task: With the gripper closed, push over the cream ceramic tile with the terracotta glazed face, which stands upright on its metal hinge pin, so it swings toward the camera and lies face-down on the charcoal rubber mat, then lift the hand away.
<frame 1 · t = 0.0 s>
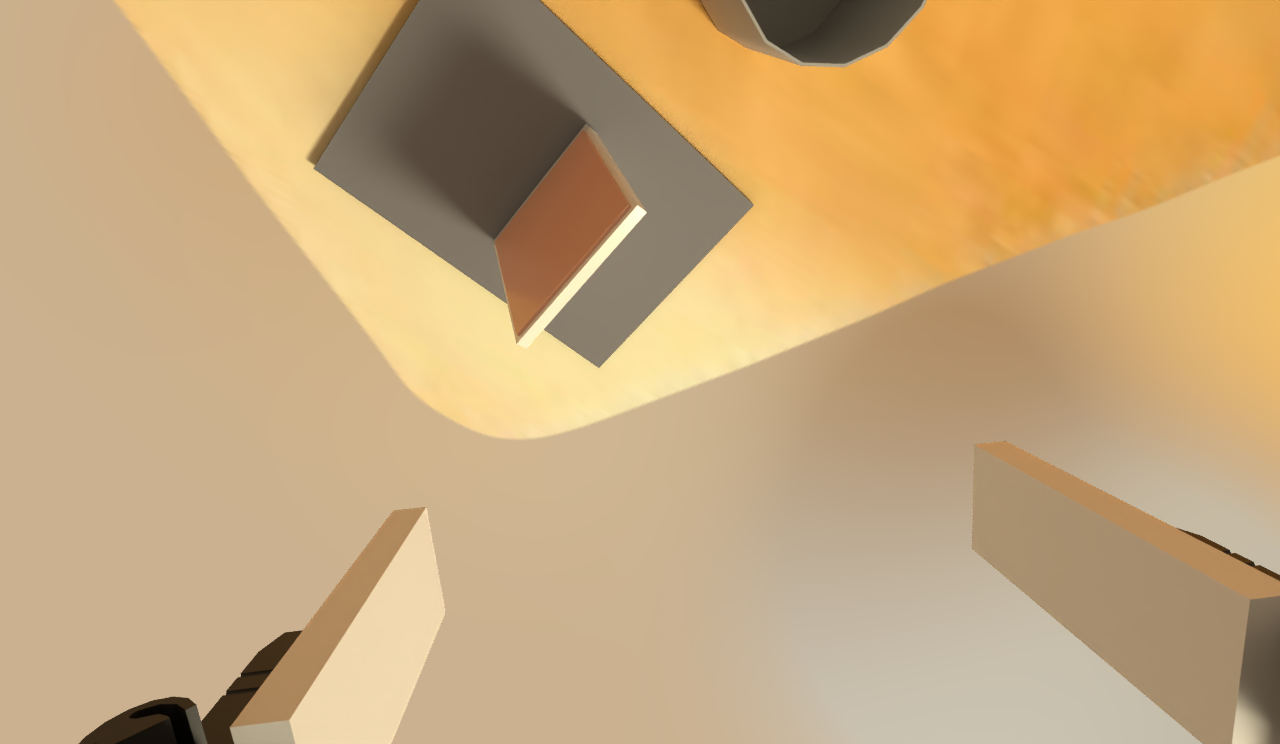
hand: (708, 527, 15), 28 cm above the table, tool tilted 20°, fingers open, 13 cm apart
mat: (543, 185, 38), on the table
tile: (557, 228, 34), point 6 cm above the table, hinge at 75.0°
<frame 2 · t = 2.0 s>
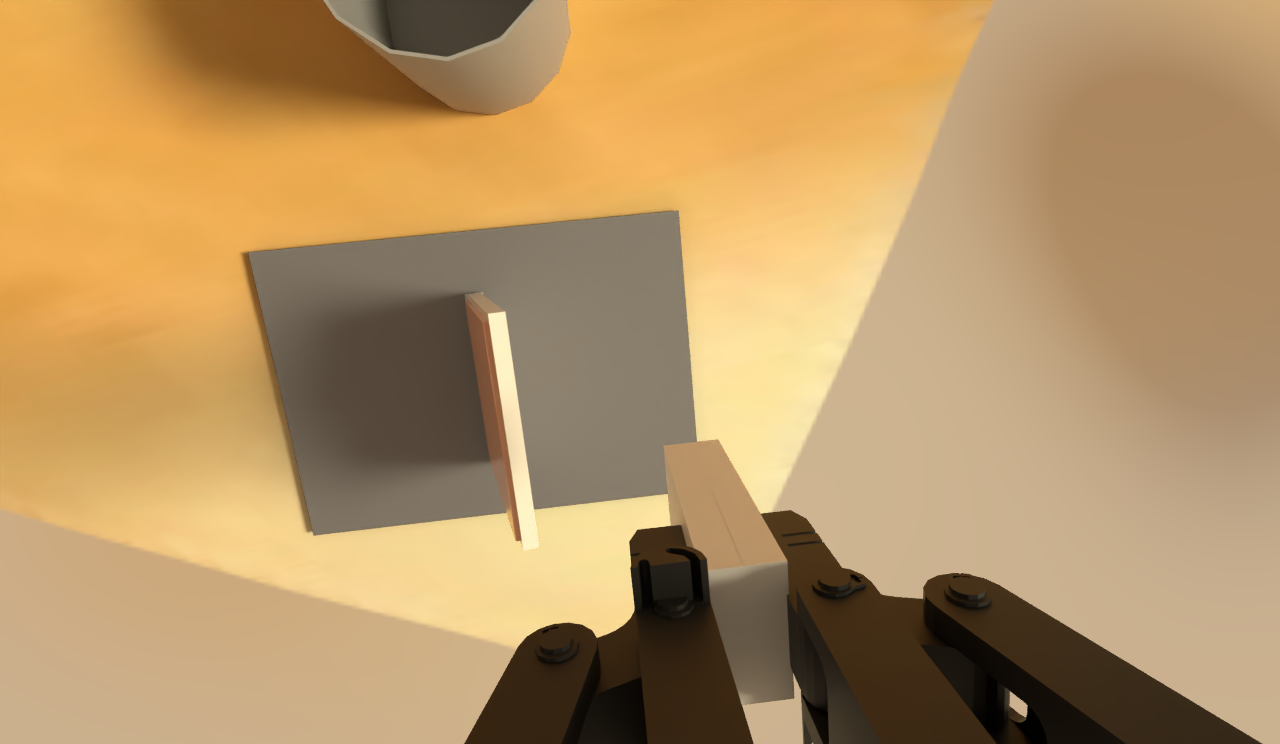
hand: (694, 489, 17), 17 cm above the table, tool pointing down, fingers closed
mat: (490, 376, 33), on the table
tile: (497, 403, 28), point 6 cm above the table, hinge at 75.0°
cup: (480, 20, 30), on the table
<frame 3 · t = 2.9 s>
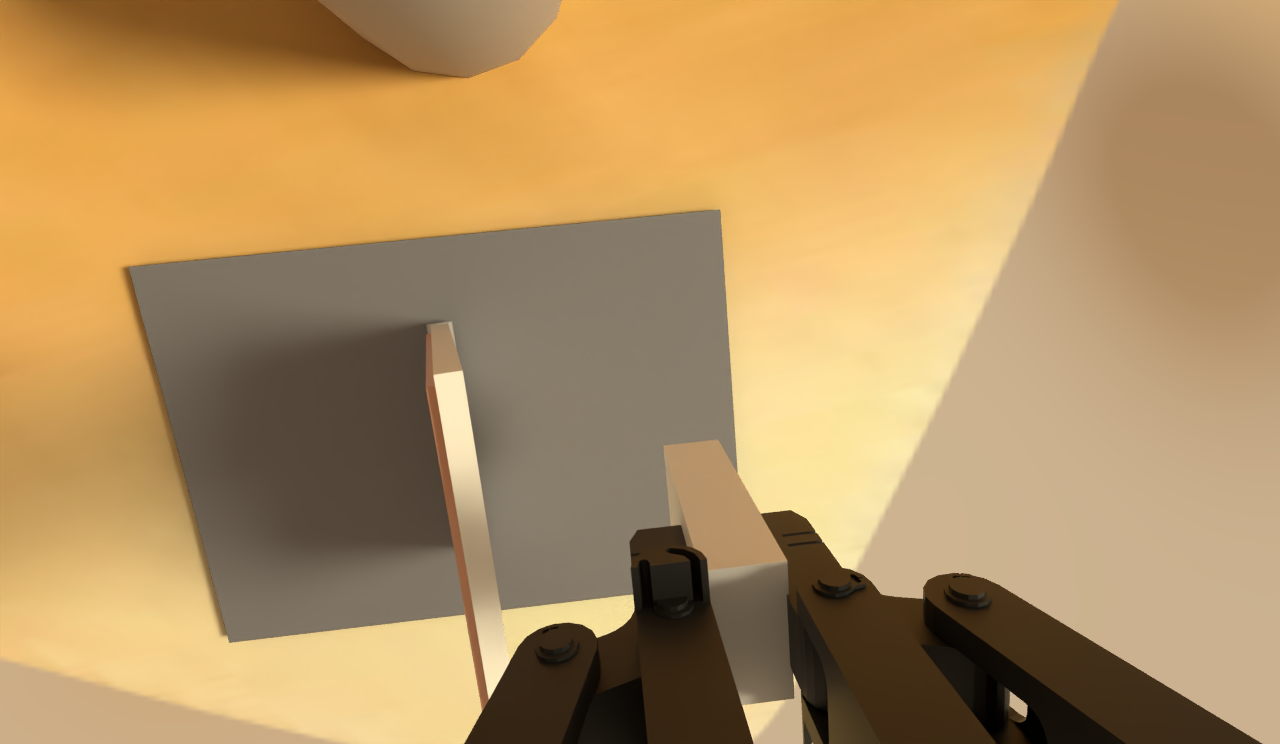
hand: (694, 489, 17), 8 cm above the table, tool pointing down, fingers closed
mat: (465, 433, 25), on the table
tile: (465, 486, 19), point 6 cm above the table, hinge at 75.0°
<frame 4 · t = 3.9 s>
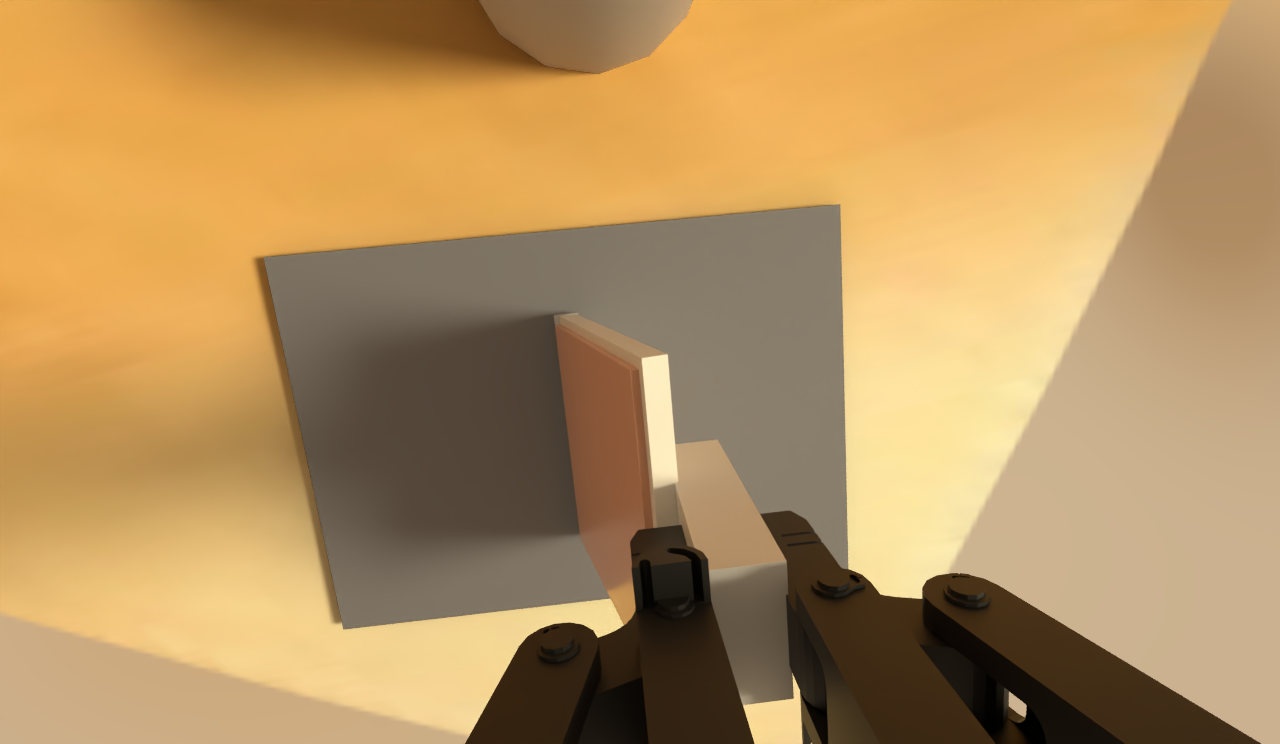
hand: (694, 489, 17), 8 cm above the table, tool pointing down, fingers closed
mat: (580, 423, 25), on the table
tile: (611, 472, 20), point 6 cm above the table, hinge at 75.9°, touching gripper
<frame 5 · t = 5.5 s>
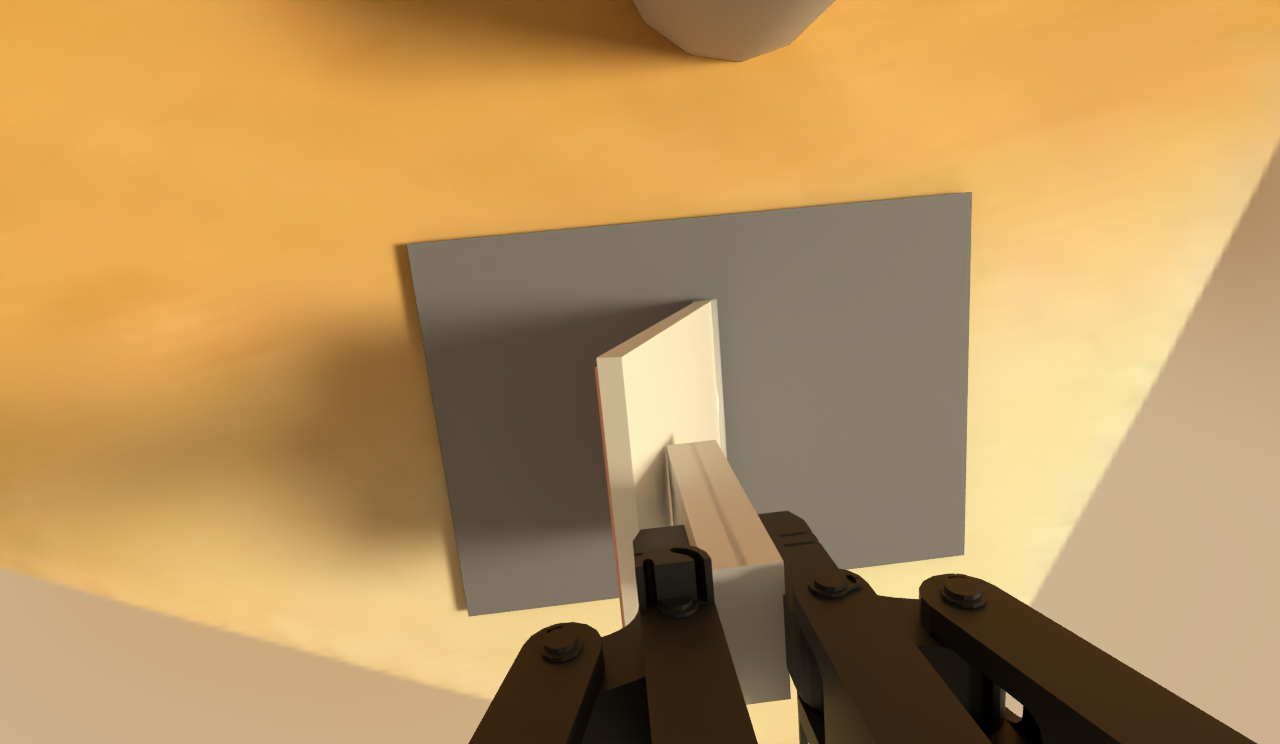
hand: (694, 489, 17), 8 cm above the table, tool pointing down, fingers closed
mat: (707, 409, 25), on the table
tile: (681, 462, 20), point 6 cm above the table, hinge at 112.4°, touching gripper
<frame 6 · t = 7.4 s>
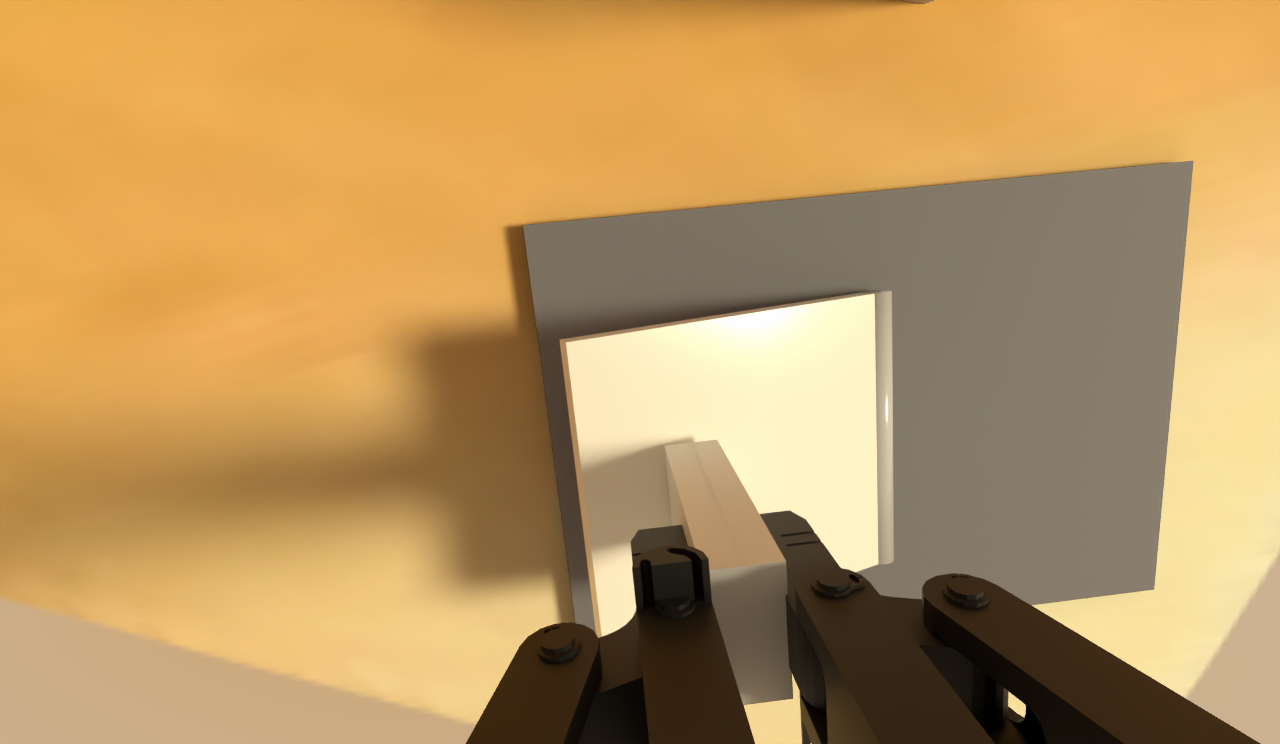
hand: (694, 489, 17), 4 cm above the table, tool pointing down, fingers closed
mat: (863, 421, 21), on the table
tile: (750, 463, 19), point 3 cm above the table, hinge at 161.5°, touching gripper
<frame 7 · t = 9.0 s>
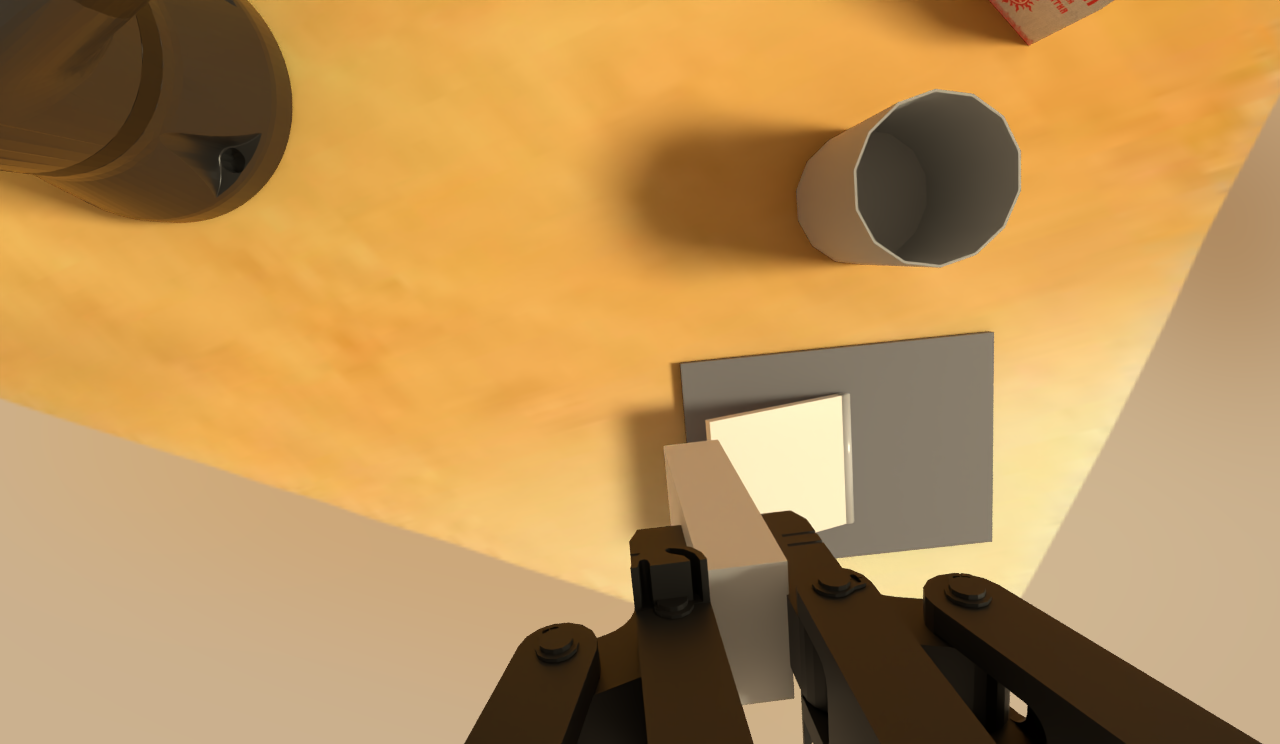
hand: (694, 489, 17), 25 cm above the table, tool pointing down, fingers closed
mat: (839, 453, 44), on the table
tile: (784, 473, 41), point 3 cm above the table, hinge at 161.5°
cup: (859, 198, 41), on the table
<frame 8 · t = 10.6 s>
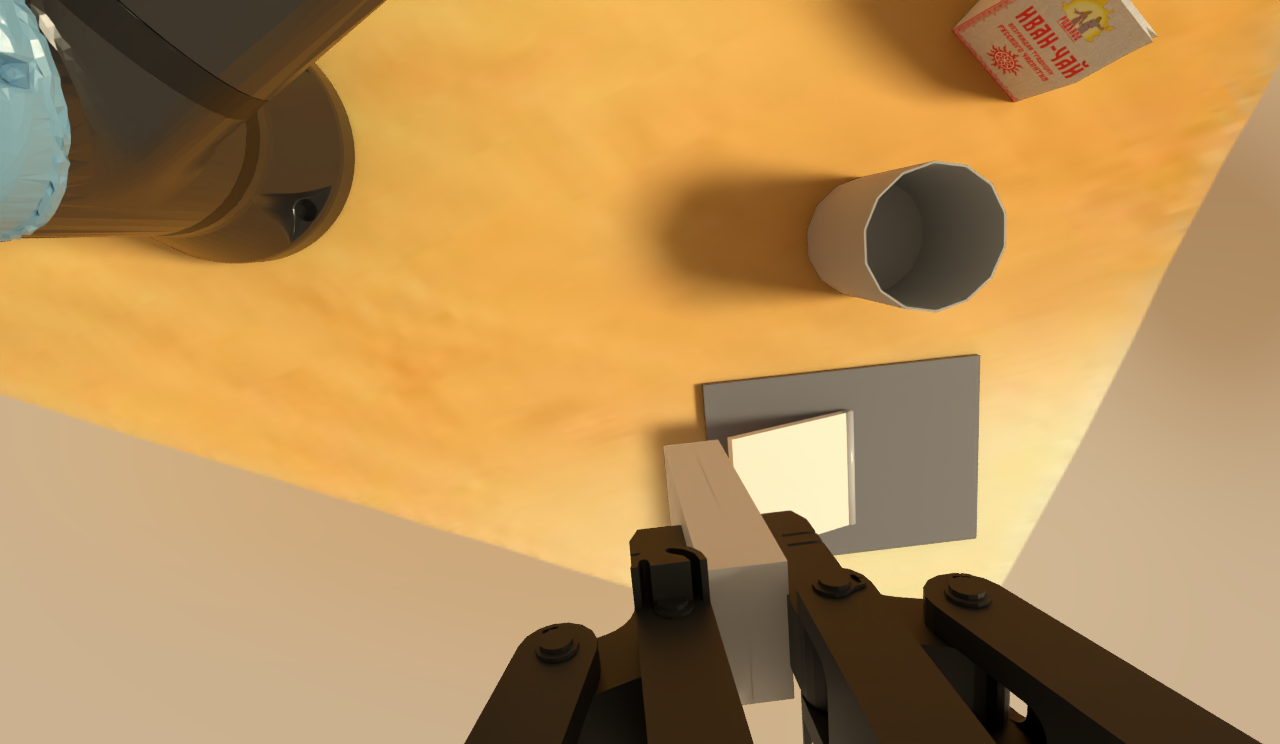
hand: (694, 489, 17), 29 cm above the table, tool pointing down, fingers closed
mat: (843, 462, 49), on the table
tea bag: (1001, 46, 44), on the table
tile: (795, 482, 46), point 3 cm above the table, hinge at 161.5°
cup: (862, 237, 46), on the table
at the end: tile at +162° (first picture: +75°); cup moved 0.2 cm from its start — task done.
